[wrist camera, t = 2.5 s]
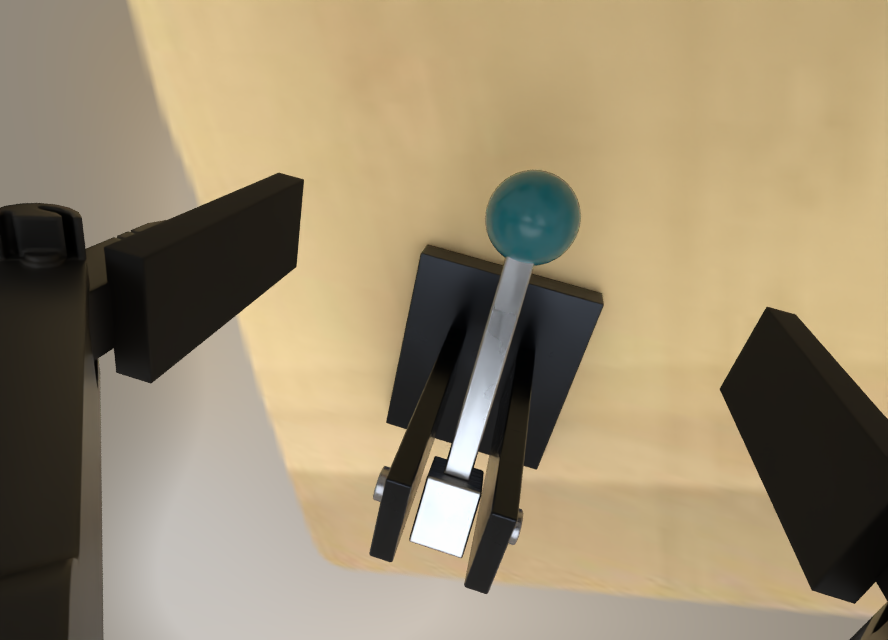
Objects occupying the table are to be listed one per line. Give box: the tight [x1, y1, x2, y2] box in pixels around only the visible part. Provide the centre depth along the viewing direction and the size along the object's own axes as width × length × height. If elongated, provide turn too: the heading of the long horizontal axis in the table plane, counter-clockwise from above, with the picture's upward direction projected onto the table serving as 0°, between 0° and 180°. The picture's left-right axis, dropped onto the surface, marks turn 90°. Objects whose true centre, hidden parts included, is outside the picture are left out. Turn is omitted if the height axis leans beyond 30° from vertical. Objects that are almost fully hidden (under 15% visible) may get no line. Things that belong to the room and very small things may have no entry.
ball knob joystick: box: [409, 170, 581, 558], centre depth 21 cm, size 15×4×4 cm, turn 168°
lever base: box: [370, 245, 604, 594], centre depth 26 cm, size 12×10×14 cm
